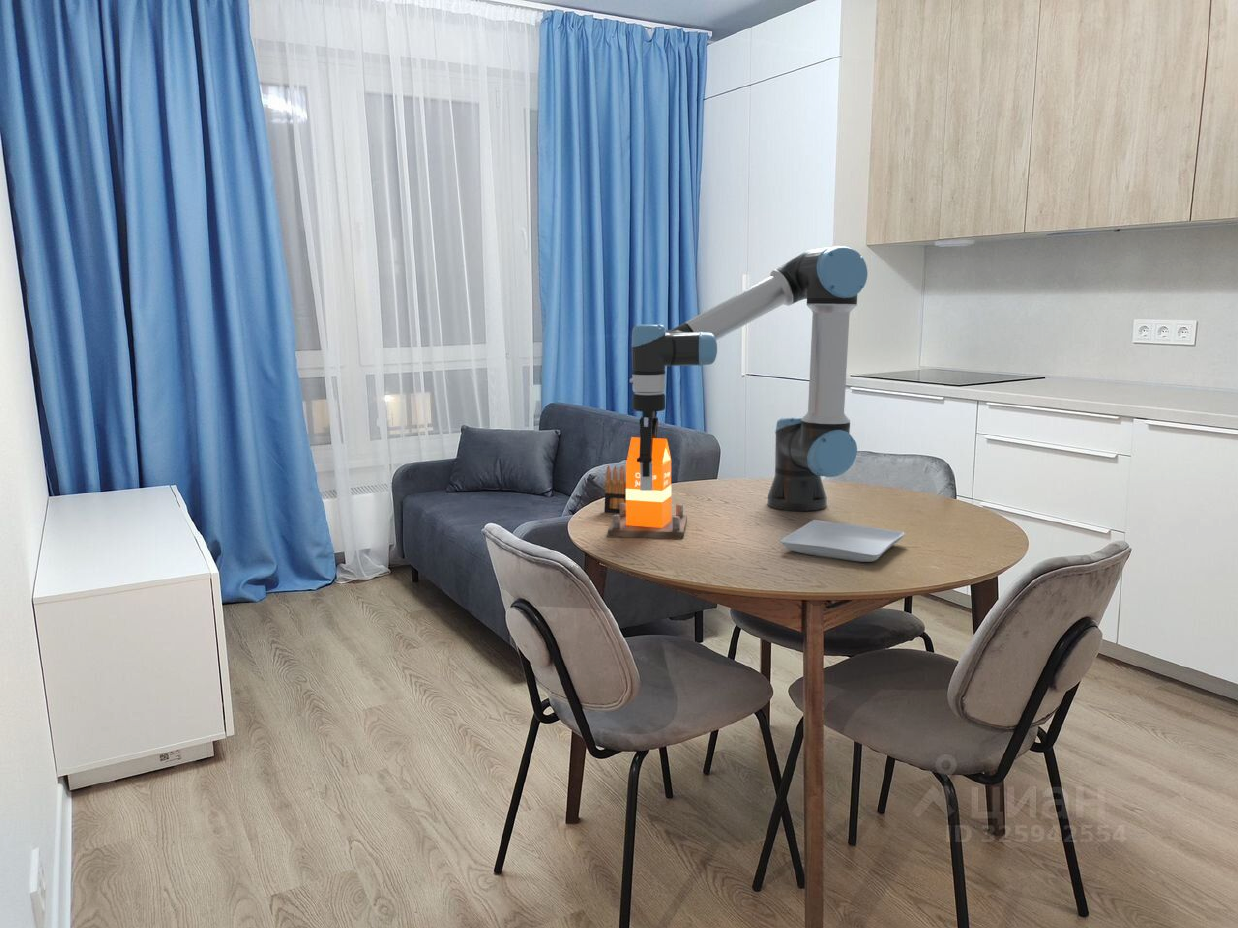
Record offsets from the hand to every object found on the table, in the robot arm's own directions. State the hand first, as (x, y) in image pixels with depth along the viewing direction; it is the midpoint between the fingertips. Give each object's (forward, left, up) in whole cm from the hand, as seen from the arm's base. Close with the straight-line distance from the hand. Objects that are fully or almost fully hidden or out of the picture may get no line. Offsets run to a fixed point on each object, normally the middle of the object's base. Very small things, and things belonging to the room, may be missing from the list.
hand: (649, 484), depth 211 cm
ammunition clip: (+8, -16, -11) cm, 20 cm away
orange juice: (0, 0, -9) cm, 9 cm away
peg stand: (0, 0, -11) cm, 11 cm away
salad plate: (-43, +13, -11) cm, 46 cm away
